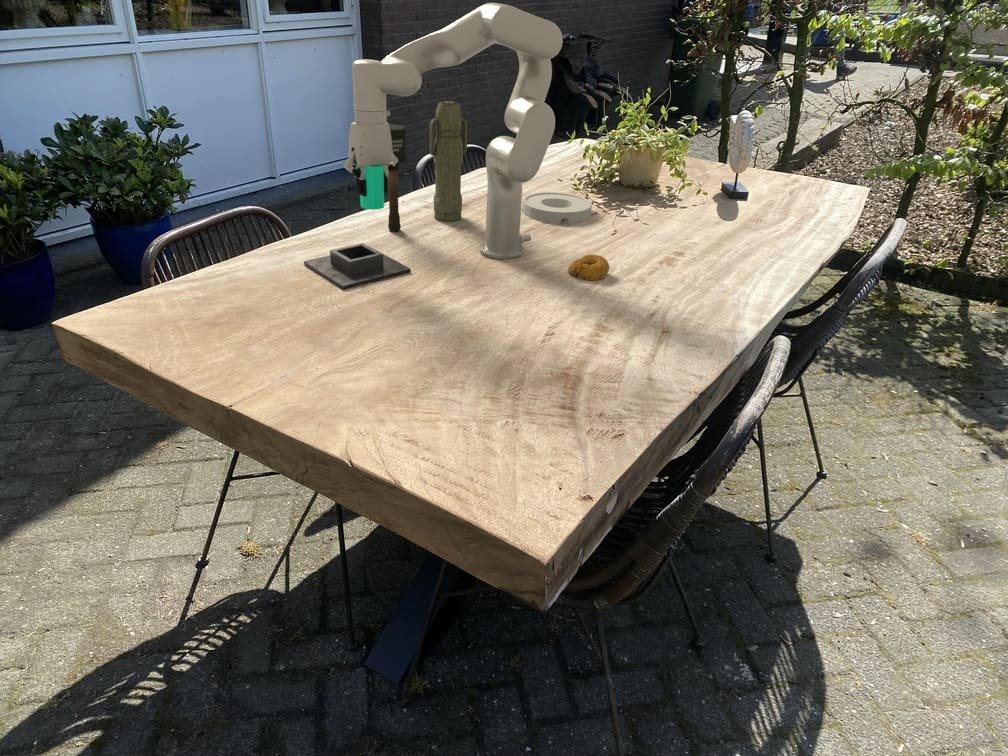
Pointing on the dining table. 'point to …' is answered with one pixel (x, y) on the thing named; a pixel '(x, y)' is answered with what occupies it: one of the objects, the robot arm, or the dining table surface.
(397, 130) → the grenade
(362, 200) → the candle
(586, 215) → the grey round base
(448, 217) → the olive green tall cylinder
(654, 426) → the dining table surface
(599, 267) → the bagel
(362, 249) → the socket holder
